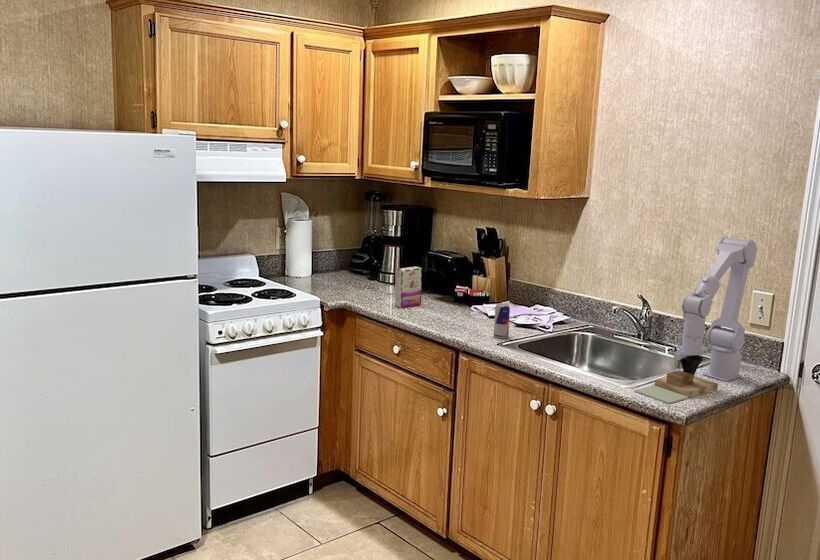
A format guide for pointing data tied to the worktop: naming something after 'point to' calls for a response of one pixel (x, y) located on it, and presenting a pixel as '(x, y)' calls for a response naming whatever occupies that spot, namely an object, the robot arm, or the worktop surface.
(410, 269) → the candy bar box
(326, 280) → the worktop surface
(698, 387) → the birch board
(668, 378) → the walnut block
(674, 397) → the sage mat
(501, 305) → the energy drink
